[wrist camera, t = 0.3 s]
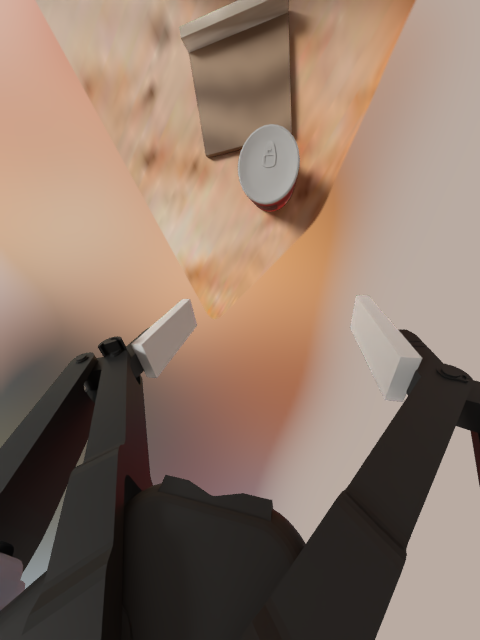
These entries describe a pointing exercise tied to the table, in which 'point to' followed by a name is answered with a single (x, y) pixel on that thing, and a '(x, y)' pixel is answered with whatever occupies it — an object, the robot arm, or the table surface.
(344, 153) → the table surface
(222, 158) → the table surface
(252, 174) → the canned food
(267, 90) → the shelf board
